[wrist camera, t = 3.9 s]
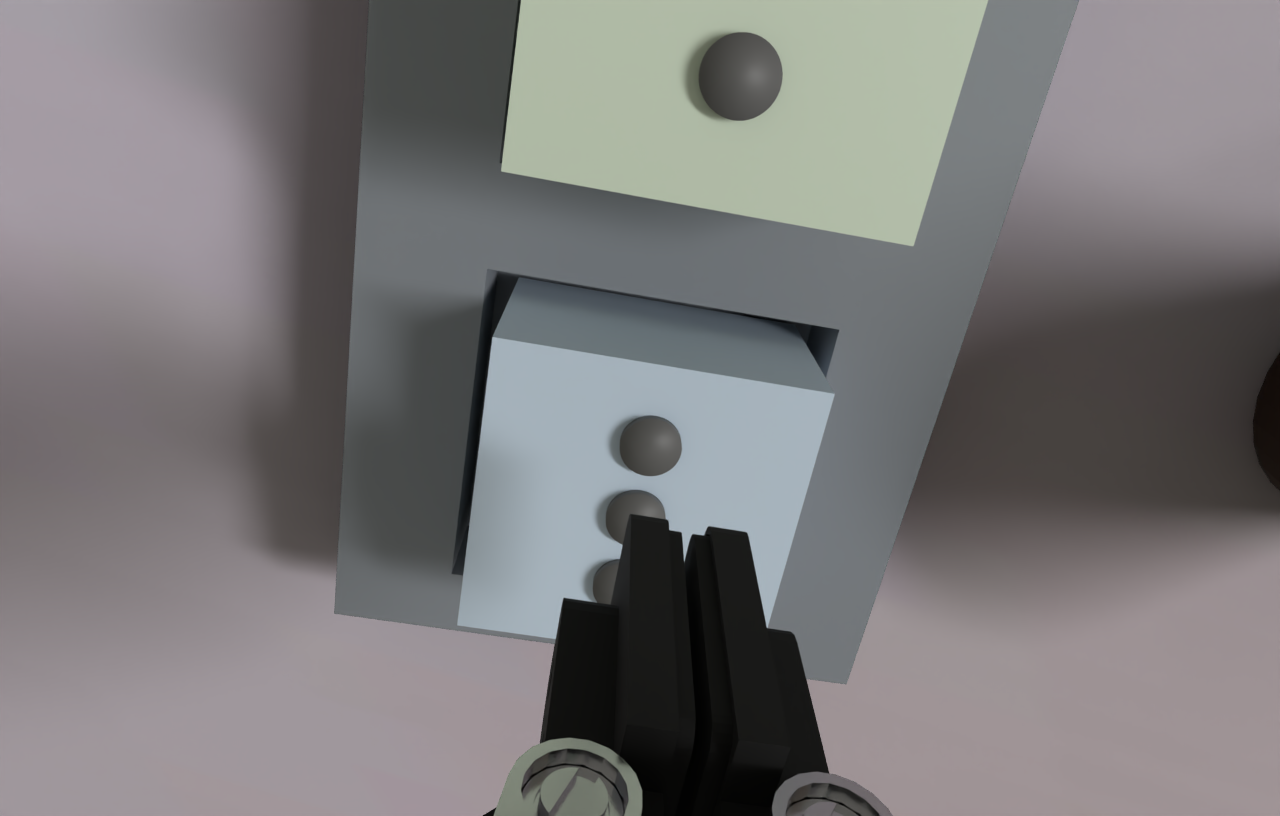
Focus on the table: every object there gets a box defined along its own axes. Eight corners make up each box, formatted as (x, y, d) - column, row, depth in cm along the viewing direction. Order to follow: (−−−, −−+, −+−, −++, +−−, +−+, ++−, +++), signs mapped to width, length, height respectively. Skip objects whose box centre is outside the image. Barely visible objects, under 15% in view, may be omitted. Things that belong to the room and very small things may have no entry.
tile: (519, 277, 19) (490, 340, 15) (794, 324, 19) (837, 398, 15) (487, 521, 21) (455, 631, 17) (733, 558, 21) (757, 673, 17)
